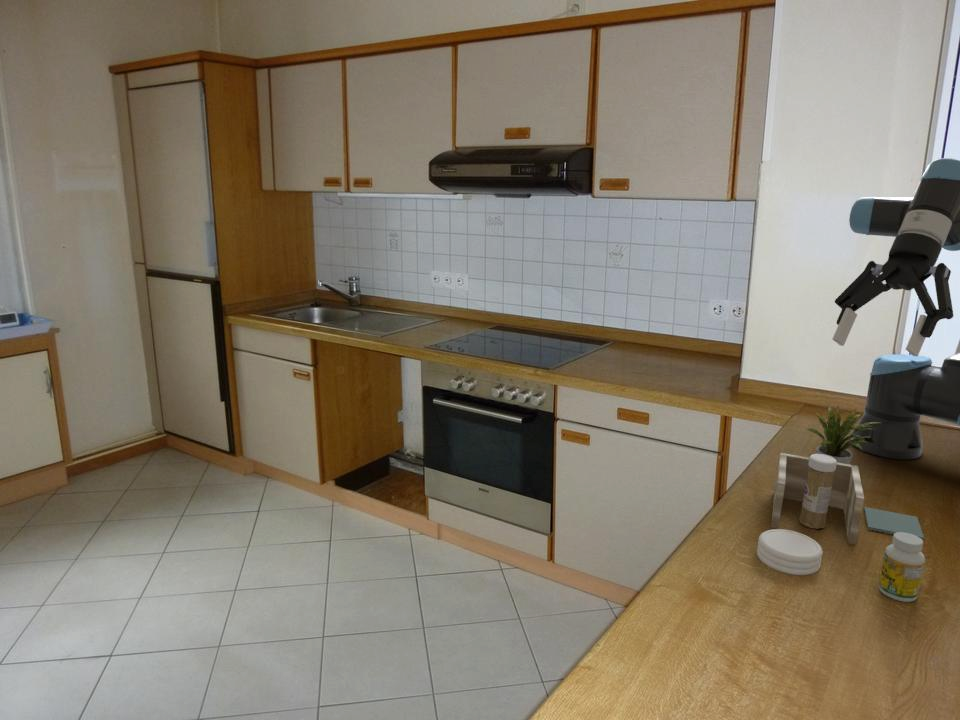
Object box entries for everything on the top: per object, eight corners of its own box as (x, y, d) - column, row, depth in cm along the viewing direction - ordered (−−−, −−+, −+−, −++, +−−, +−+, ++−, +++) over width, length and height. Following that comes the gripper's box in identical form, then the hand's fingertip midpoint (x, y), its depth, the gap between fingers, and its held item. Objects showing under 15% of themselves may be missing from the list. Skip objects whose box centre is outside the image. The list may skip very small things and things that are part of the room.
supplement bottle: (924, 603, 109) (936, 547, 106) (889, 602, 109) (901, 546, 106) (904, 583, 114) (915, 530, 111) (871, 582, 114) (881, 529, 111)
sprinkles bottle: (794, 518, 135) (804, 452, 131) (816, 518, 135) (828, 452, 132) (807, 530, 130) (818, 462, 127) (830, 529, 131) (842, 462, 127)
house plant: (854, 501, 143) (868, 425, 139) (785, 479, 152) (796, 407, 148) (875, 481, 153) (889, 409, 149) (809, 462, 162) (821, 394, 158)
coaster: (782, 540, 127) (785, 523, 126) (832, 568, 118) (836, 549, 117) (743, 553, 122) (746, 535, 121) (793, 582, 114) (796, 563, 113)
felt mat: (863, 509, 139) (864, 506, 139) (916, 519, 136) (917, 516, 136) (867, 529, 131) (868, 526, 131) (923, 540, 128) (924, 537, 128)
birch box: (774, 493, 145) (780, 452, 143) (850, 508, 140) (857, 465, 138) (771, 527, 131) (778, 482, 129) (855, 544, 126) (864, 498, 123)
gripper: (844, 231, 135) (800, 330, 134) (986, 229, 114) (936, 348, 112) (864, 250, 139) (821, 347, 137) (1005, 252, 117) (957, 367, 116)
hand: (872, 347), depth 125 cm, fingers open, 13 cm apart
